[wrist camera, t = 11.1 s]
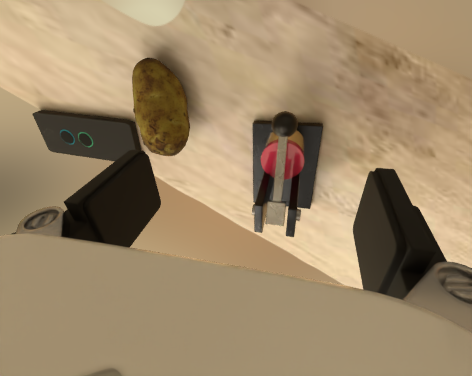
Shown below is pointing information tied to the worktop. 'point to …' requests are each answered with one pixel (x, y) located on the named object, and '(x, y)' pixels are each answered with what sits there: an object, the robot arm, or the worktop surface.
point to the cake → (292, 156)
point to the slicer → (295, 188)
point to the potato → (160, 107)
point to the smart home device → (87, 134)
